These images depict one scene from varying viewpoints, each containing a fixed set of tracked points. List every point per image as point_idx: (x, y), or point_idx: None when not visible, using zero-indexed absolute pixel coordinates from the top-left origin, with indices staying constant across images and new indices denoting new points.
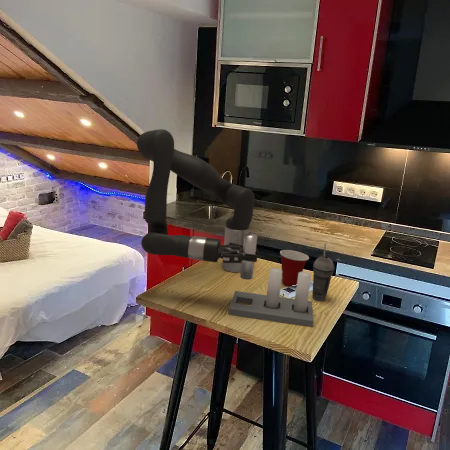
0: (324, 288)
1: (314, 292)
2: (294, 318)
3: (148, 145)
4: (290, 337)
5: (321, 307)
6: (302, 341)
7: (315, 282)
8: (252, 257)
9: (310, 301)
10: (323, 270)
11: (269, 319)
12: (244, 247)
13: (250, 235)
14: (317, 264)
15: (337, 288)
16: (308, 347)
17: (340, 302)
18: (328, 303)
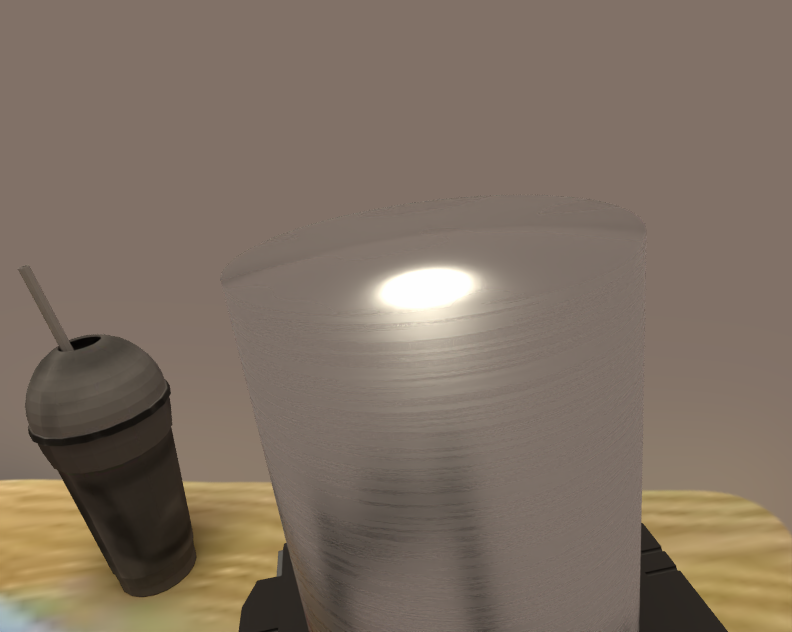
0: (182, 482)
1: (166, 551)
2: None
3: None
4: (714, 587)
5: (273, 539)
6: (696, 536)
7: (152, 498)
8: (650, 545)
9: (279, 556)
10: (162, 393)
11: None
12: (623, 619)
13: (434, 241)
14: (120, 393)
15: (22, 523)
16: (723, 508)
17: (194, 491)
18: (216, 524)
